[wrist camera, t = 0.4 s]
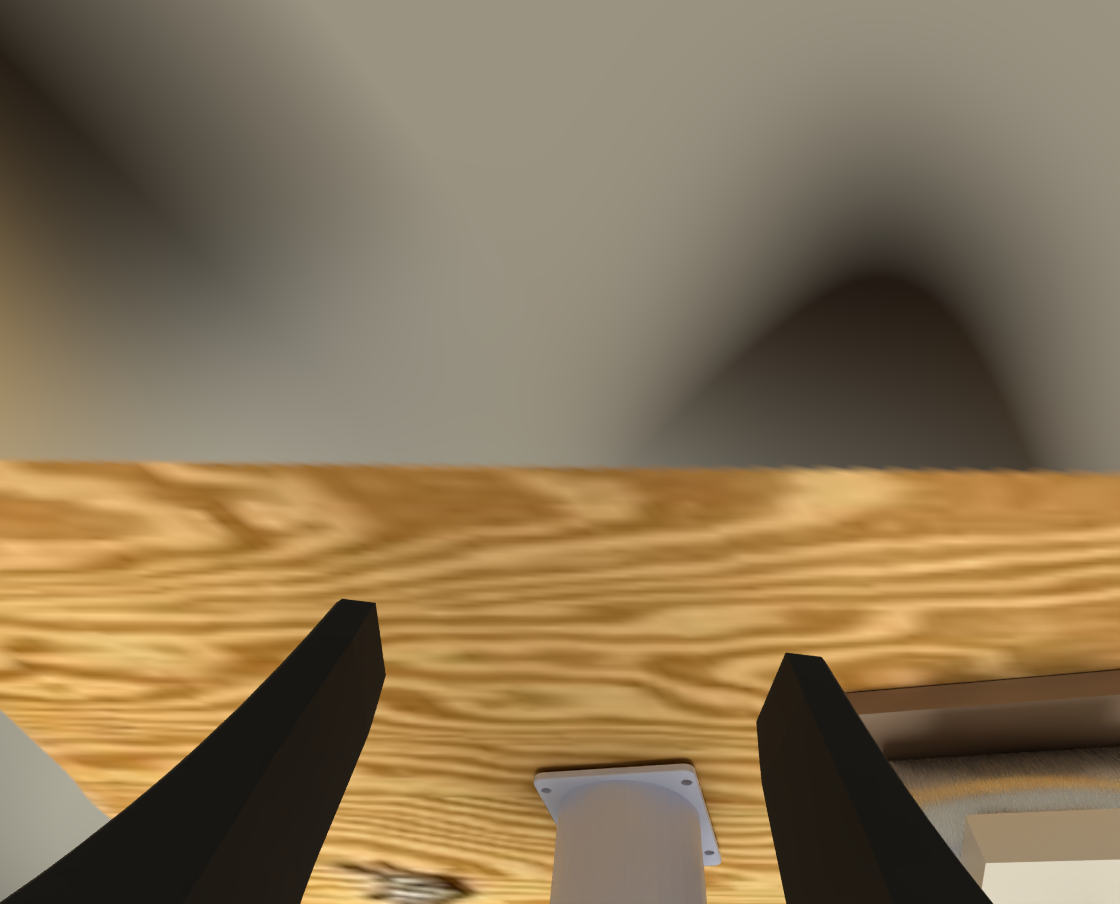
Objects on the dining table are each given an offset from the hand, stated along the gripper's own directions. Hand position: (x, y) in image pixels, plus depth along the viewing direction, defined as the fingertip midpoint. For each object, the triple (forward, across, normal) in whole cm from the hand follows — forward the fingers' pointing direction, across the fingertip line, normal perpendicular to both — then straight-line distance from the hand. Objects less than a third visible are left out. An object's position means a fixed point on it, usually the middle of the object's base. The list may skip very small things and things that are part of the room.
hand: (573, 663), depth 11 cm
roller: (+9, -19, +14) cm, 25 cm away
